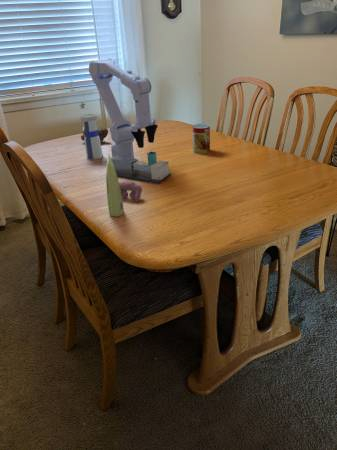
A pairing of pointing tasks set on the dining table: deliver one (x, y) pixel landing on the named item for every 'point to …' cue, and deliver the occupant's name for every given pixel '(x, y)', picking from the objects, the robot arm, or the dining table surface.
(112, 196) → the tube
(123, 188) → the video game controller
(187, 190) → the dining table surface
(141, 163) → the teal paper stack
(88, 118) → the water bottle
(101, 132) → the decorative turtle
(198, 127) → the canned food
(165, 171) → the socket
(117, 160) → the grey long angular block
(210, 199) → the dining table surface
